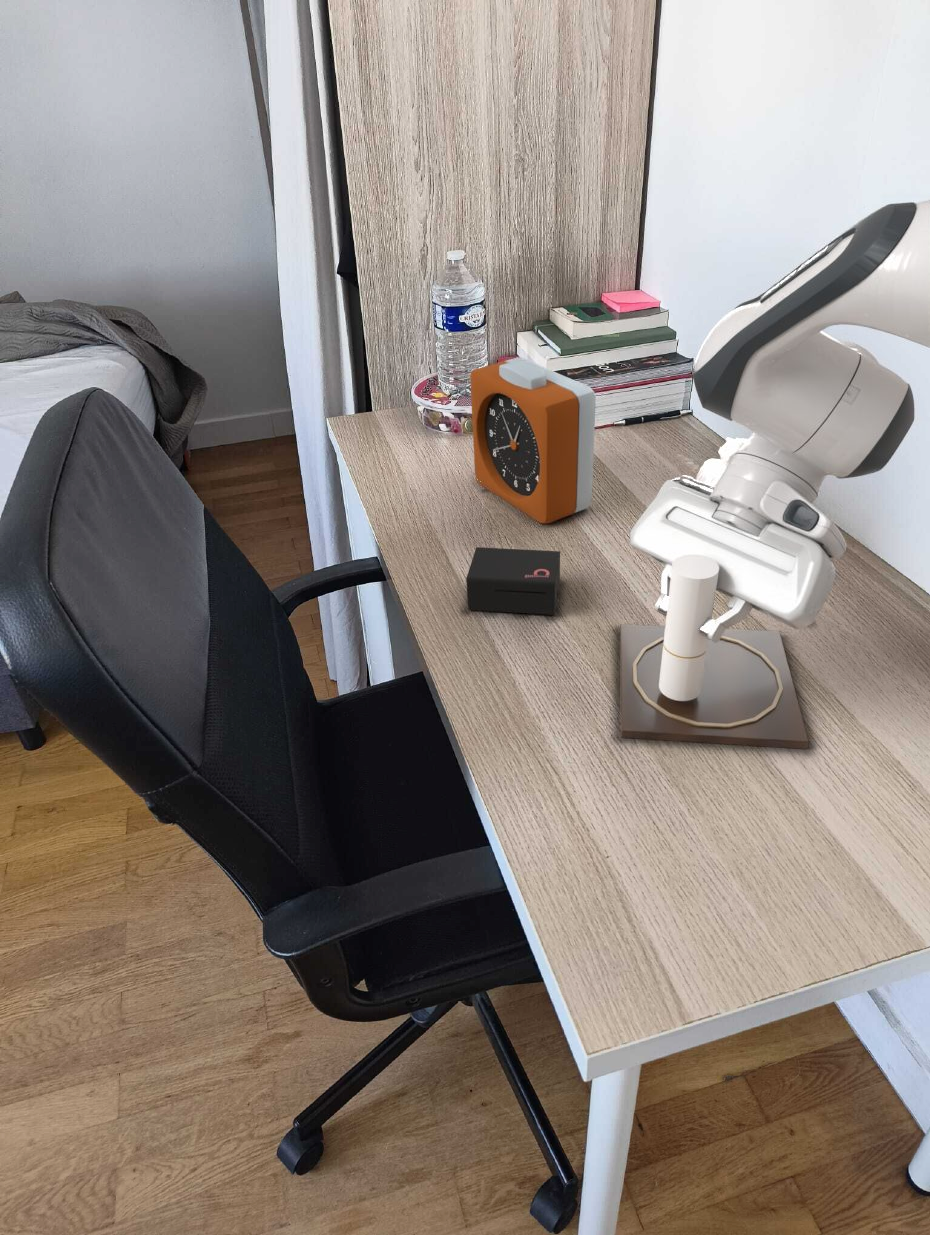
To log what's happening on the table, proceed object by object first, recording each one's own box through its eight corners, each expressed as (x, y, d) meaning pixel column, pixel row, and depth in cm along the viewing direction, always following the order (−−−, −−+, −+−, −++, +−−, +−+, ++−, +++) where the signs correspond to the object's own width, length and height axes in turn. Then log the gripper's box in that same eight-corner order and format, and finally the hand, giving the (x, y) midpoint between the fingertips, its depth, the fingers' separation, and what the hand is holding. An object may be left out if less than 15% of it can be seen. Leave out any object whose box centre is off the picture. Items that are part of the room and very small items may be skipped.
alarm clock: (473, 482, 132) (466, 352, 120) (518, 466, 136) (516, 339, 123) (545, 529, 119) (546, 389, 107) (593, 510, 123) (599, 372, 111)
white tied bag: (740, 540, 118) (797, 476, 114) (703, 516, 115) (761, 450, 110) (704, 500, 128) (756, 440, 123) (670, 478, 124) (721, 415, 120)
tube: (704, 700, 86) (723, 578, 77) (662, 701, 86) (676, 579, 77) (696, 673, 89) (713, 553, 80) (655, 674, 90) (668, 555, 81)
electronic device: (478, 578, 110) (476, 546, 107) (559, 583, 108) (560, 550, 105) (468, 611, 104) (466, 578, 101) (554, 617, 102) (554, 583, 99)
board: (778, 637, 97) (780, 629, 96) (807, 749, 82) (809, 740, 82) (619, 630, 99) (620, 622, 99) (620, 737, 85) (621, 729, 84)
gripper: (660, 457, 86) (591, 574, 87) (847, 528, 73) (763, 665, 74) (684, 482, 91) (618, 592, 91) (863, 553, 77) (784, 681, 78)
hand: (684, 626), depth 82 cm, fingers closed on tube, 4 cm apart
